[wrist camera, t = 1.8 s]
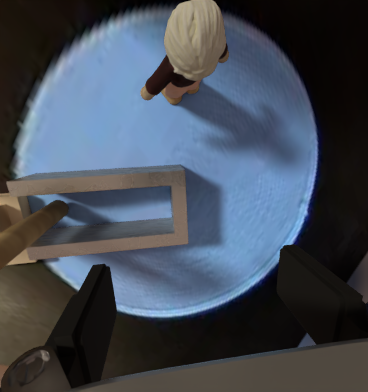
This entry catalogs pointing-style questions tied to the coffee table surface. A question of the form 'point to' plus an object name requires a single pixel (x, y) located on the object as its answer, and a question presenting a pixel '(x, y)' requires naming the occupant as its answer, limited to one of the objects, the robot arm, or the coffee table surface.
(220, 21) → the grandmother figurine
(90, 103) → the coffee table surface
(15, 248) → the pin stand
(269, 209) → the coffee table surface
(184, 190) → the steel C-link
